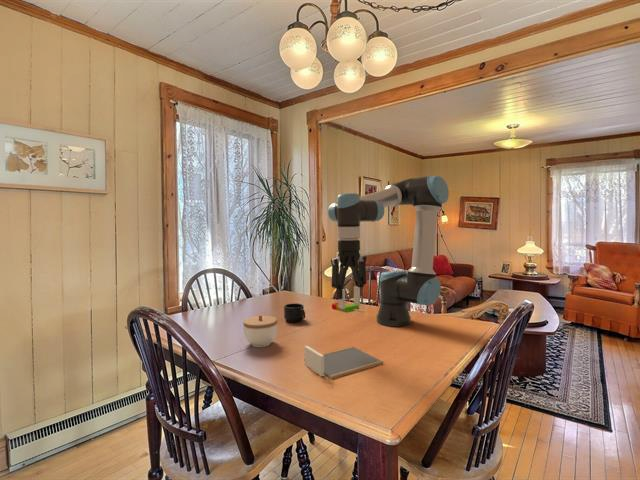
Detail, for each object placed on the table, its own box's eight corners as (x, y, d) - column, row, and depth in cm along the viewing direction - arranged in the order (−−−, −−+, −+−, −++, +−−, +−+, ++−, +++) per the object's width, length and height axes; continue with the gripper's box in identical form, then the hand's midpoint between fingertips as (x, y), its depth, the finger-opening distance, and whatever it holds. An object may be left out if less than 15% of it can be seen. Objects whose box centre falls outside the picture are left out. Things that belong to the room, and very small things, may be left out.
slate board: (352, 348, 126) (352, 346, 126) (382, 363, 112) (382, 361, 112) (304, 360, 115) (304, 358, 115) (331, 378, 102) (331, 376, 102)
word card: (308, 363, 113) (307, 345, 112) (324, 375, 104) (324, 355, 104) (304, 364, 112) (304, 346, 112) (321, 376, 103) (321, 356, 103)
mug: (280, 320, 162) (280, 305, 162) (294, 316, 168) (294, 302, 168) (297, 326, 154) (297, 310, 153) (312, 321, 160) (312, 306, 160)
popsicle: (342, 306, 127) (342, 301, 127) (370, 313, 115) (370, 307, 115) (330, 309, 124) (330, 303, 124) (357, 316, 112) (357, 310, 112)
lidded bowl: (241, 340, 135) (241, 312, 135) (273, 336, 140) (272, 309, 139) (246, 352, 124) (245, 321, 123) (281, 347, 128) (280, 317, 127)
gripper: (363, 237, 126) (364, 301, 127) (319, 240, 116) (320, 308, 118) (377, 238, 120) (377, 305, 121) (331, 241, 110) (333, 313, 111)
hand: (349, 306), depth 119 cm, fingers closed on popsicle, 6 cm apart
